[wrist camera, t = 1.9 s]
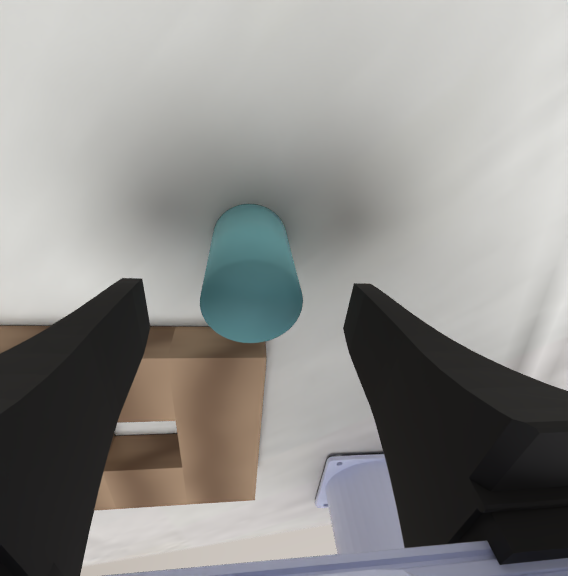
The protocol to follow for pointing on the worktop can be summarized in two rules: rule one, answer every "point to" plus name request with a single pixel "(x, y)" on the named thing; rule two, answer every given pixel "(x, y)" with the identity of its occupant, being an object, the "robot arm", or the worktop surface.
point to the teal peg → (250, 277)
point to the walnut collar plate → (184, 420)
